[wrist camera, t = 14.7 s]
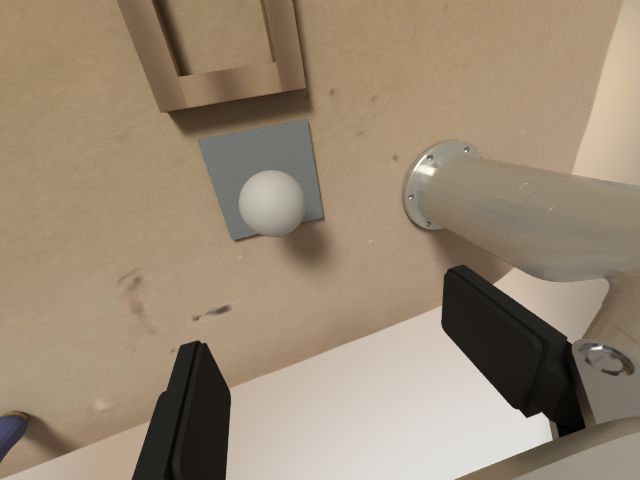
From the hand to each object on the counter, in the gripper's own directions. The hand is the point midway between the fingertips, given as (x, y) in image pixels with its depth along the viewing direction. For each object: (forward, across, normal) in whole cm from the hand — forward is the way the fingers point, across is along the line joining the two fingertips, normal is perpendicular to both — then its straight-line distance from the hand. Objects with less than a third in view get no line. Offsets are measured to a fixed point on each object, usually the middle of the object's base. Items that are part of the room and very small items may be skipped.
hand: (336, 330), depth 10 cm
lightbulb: (+25, +1, 0) cm, 25 cm away
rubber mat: (+25, +1, 0) cm, 25 cm away
